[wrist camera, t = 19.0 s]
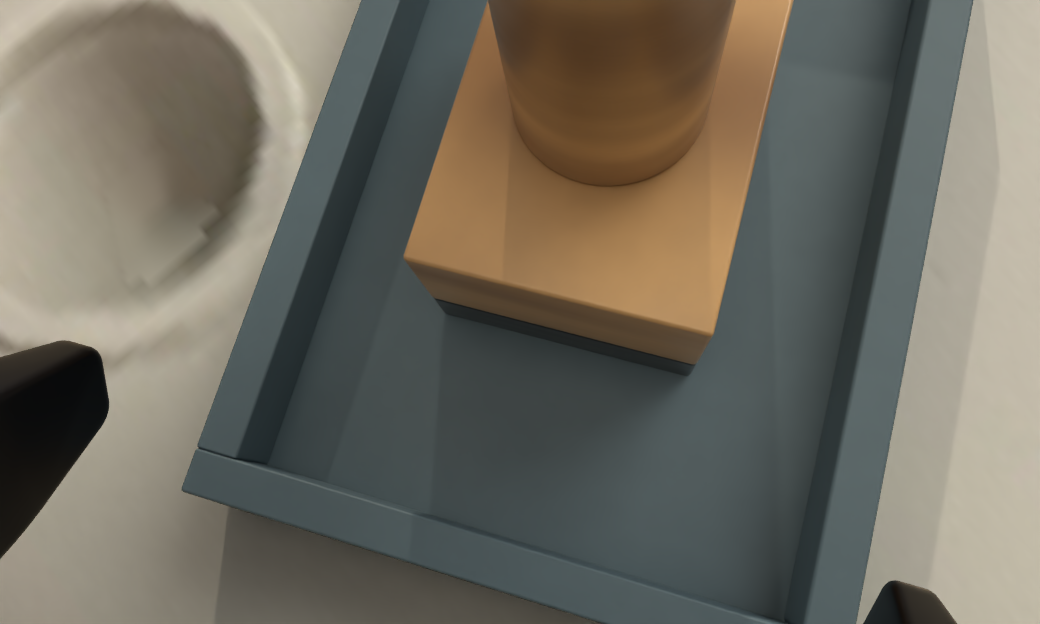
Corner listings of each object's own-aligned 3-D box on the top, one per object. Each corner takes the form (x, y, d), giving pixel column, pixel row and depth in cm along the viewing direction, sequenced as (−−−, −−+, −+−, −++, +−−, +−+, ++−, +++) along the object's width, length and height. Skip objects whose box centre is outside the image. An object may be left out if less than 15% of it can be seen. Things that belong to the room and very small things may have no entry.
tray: (811, 676, 15) (843, 699, 13) (228, 494, 17) (179, 490, 15) (971, -135, 19) (1014, -211, 17) (479, -211, 20) (466, -287, 18)
